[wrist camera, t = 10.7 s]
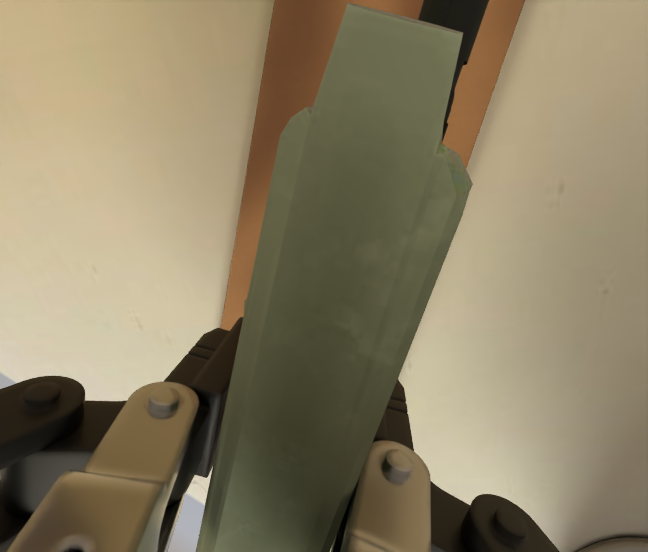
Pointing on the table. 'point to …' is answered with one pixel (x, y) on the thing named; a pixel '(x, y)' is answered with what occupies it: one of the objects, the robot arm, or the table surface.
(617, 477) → the table surface
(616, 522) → the table surface
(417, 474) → the robot arm
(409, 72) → the handheld radio
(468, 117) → the wooden board
